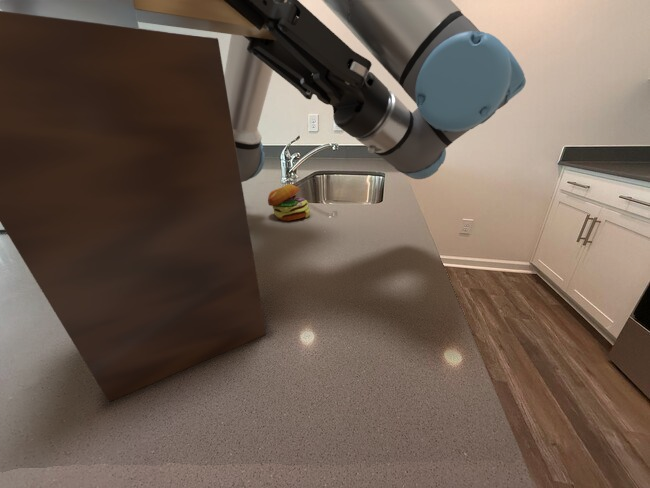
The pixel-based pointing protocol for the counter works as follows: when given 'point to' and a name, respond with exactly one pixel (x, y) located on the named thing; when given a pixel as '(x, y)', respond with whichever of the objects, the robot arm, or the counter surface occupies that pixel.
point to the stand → (126, 193)
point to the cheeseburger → (288, 203)
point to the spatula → (145, 14)
